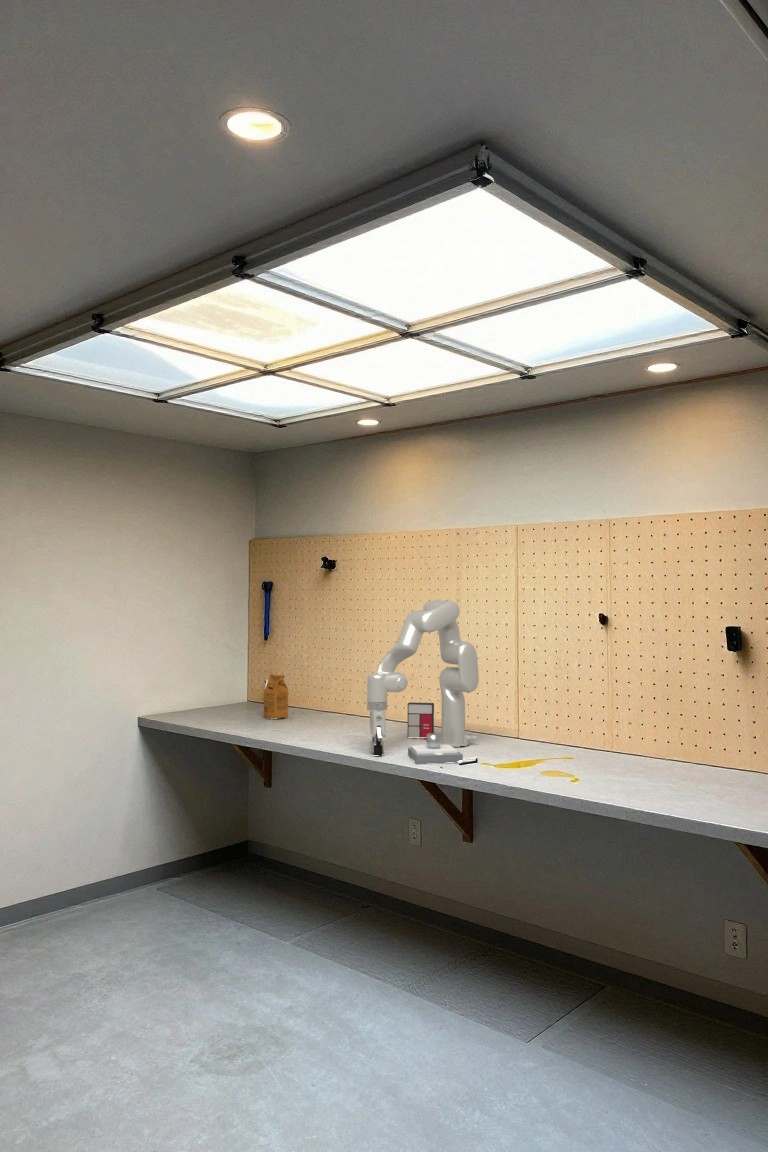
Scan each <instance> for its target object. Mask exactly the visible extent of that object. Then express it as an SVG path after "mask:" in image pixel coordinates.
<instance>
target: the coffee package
mask: <svg viewBox="0 0 768 1152" xmlns="http://www.w3.org/2000/svg"><path fill="white" fill-rule="evenodd" d="M284 678H285V675H284V674H273V673H270V674H269V677H268V681H267V682H266V686H265V688H264V690H265V691H264V698H263V718H264V717H268V718H281V719H285V718H284V717H286V718H288V717H289V688H288V686H287V684H286V682H285V679H284ZM268 718H267V719H268Z"/></svg>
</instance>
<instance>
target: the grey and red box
mask: <svg viewBox="0 0 768 1152" xmlns="http://www.w3.org/2000/svg"><path fill="white" fill-rule="evenodd" d="M434 716H435V703H434V702H411V701H410V702H408V703H407V738H408V737H427V734H429V733H435V729H434V728H435V717H434Z"/></svg>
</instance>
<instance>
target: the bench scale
mask: <svg viewBox="0 0 768 1152" xmlns="http://www.w3.org/2000/svg"><path fill="white" fill-rule="evenodd" d="M408 755H409V756H410V757H411V758H412V759H413V760H414V761H415V762H414V761H413V760H412V759H411V758H410V757H409V756H408ZM407 756H408V757H409V758H410V759H411V760H412V761H413V762H414V763H415V764H416V765H428V764H427V763H445V762H457V761H459V760H463V761H464V754H462V752H460V751H459V750H457V748H456V747H452V746H451V745H440V748H439V749H428V748H427V744H425V745H424V744H422V745H421V744H417V745H416V744H415V745H414V744H413V745H410V747H408V748H407Z"/></svg>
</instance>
